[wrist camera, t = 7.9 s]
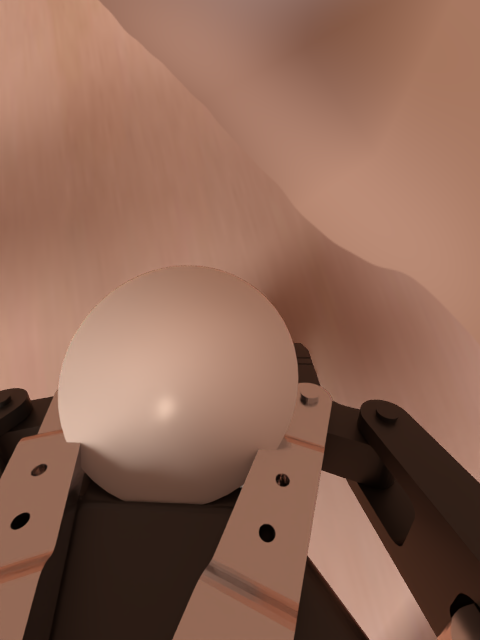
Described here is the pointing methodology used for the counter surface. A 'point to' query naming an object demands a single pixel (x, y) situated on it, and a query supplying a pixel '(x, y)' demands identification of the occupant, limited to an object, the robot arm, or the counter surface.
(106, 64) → the counter surface
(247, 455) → the grey round peg
